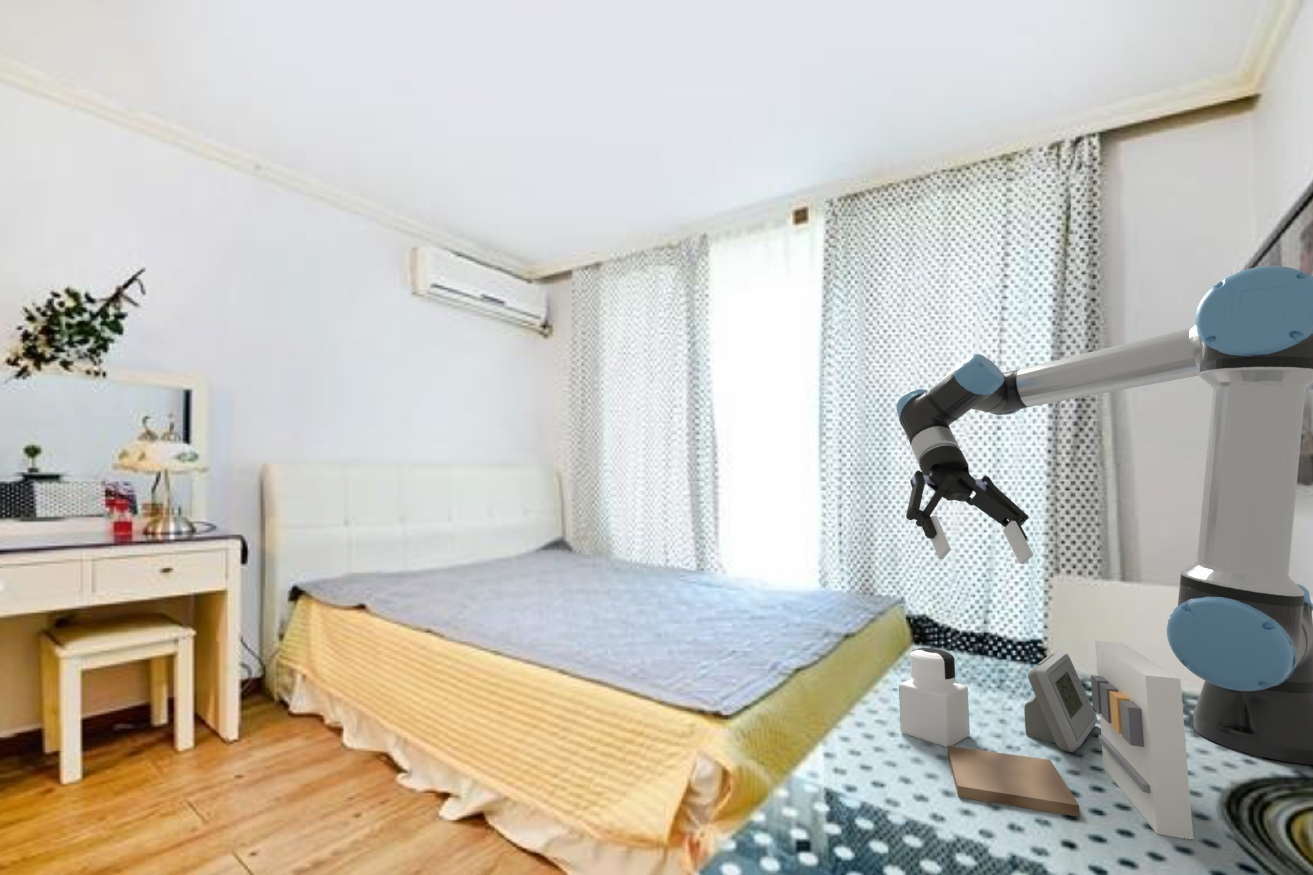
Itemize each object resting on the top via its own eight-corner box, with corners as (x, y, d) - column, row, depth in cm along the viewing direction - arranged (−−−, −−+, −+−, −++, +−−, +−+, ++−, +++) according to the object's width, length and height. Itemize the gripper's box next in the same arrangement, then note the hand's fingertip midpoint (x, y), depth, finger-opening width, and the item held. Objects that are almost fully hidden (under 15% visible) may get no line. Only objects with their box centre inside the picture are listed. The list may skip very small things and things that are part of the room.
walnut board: (1050, 769, 76) (1050, 759, 76) (1080, 817, 65) (1079, 805, 65) (947, 754, 80) (947, 745, 80) (958, 796, 69) (957, 785, 69)
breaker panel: (1131, 772, 75) (1122, 643, 77) (1193, 840, 60) (1180, 678, 62) (1092, 766, 77) (1084, 640, 78) (1143, 831, 62) (1131, 674, 63)
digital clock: (1072, 759, 79) (1067, 677, 80) (1003, 736, 87) (999, 661, 88) (1121, 732, 88) (1116, 659, 89) (1054, 714, 96) (1050, 646, 97)
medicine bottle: (923, 721, 92) (919, 642, 93) (970, 736, 87) (966, 651, 88) (899, 733, 87) (896, 649, 89) (948, 749, 82) (944, 660, 83)
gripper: (993, 475, 111) (1046, 573, 97) (866, 466, 109) (900, 565, 94) (1015, 448, 106) (1074, 548, 91) (881, 438, 104) (920, 538, 89)
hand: (986, 557), depth 93 cm, fingers open, 13 cm apart
